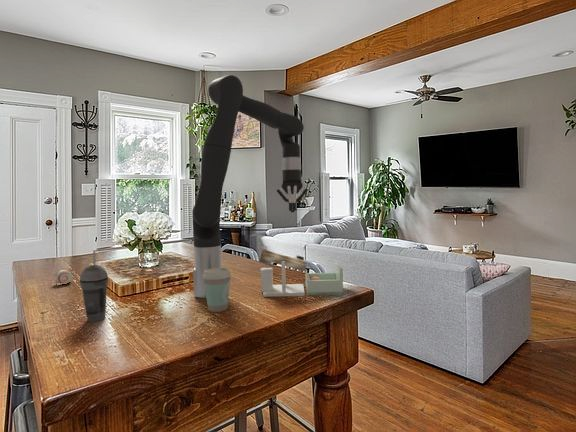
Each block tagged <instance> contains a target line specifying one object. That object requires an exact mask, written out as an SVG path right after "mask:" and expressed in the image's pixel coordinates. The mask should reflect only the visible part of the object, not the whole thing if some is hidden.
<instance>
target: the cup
mask: <svg viewBox="0 0 576 432" xmlns="http://www.w3.org/2000/svg"><path fill="white" fill-rule="evenodd" d="M334 271H335V272H310V273H309V272H306V273H305V289H306V295H307V296H309V297H310V296H343V295H344V274H343V273H344V272H343V271H344V269H343V267H342V266H341V264H340V262H338V261H335V262H334ZM313 277H319V278H320V280H311V278H313Z"/></svg>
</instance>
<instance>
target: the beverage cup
mask: <svg viewBox="0 0 576 432" xmlns="http://www.w3.org/2000/svg"><path fill="white" fill-rule="evenodd" d="M92 255H93V265H91V264H90V265H88V266H86V267H85V268H84V269H83V270H82V271H81V274H80V278H79V283H80V288H81V289H82V296H83V302H84V310H85V315H86V318H87V322H90V323H91V322H92V323H95V322H100V321H104V320H105V319H106V314H107V290H108V289H107V288H108V287H107V286H108V281H109V280H108V279H109V276H108V272H107V270H106V269H105V268H104V267H103V266H101V265H99V264H96V249H94V250H93V254H92Z"/></svg>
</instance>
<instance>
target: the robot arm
mask: <svg viewBox="0 0 576 432" xmlns="http://www.w3.org/2000/svg"><path fill="white" fill-rule="evenodd" d="M207 90H208V96H209V98H210V100H211V101H212V102H213V103H214V104H216V105H217V112H216V115H215V117H214V120H213V122H212V124H211V126H210V128H209V130H208V132H207V134H206V136H205V139H204V142H203V148H202V155H201V162H200V163H201V165H200V185H199V189H198V194H197V198H196V202H195V204H194V205H193V208H192V234H193V237H192V239H193V253H194V254H193V257H194V268H193V270H192V271H193V272H192V273H193V275H192V278H193V296H194V298H200V299H207V298H206V292H205V285H204V278H202V277H203V274H204V270H206V269H210V268H223V260H222V237H221V225H220V223H221V222H220V218H221V213H222V211H221V210H222V209H221V208H222V197H223V196H222V195H223V187H224V183H225V179H226V175H227V172H228V168H229V163H230V158H231V153H232V145H233V139H234V136H235V135H234V134H235V128H236V122H237V117H238V114H239V113H240V114H243V115H244V116H245V115H246V116H248V117H250V118H252V119H255V120H256V121H258V122H260V123H262V124H264V125H265V126H268V127H270V128H271V129H277V133H278V137H279V140H280V141H279V142H280V144H281V147H282V162H281V163H282V164H281V169H282V172H281V173H282V182H281V187H279V188H278V189H277V190H276V192H277V193H278V195H280V197H281V199H282V200H283V201H284V202H285V203H288V211H289V212H290V213H295V212H296V211H297V203H298V202H301V201H302V199H303V197H305V195H306V194H307V193H308V189H307V188H306V187H304V185H303V182H302V163H301V146H300V144H299V143H298V142H294V138H293V137H298V136H300V135H301V134H302V133H303V132H304V123H303V121H302V120H301V119H300V118H299V117H298V116H295V115H293V114H290V113H287V112H283V111H280V110H279V109H277V108H275V107H273V106H271V104H269V103H268V104H267V103H265V102H263V101H260V100H257V99H253V98H250V97H248V96H245V95H244V88H243V83H242V81H241V80H240V78H238V76H236V75H233V74H230V75H229V74H227V75H224V76H221V77H218V78H216V79H214V80H212V81H211V82H210V83H209V85H208V89H207ZM300 191H301V193H300ZM284 192H285V194H287V197H288V198H287V197H286V196H285V195H284ZM299 193H300V195H299V196H298V198H297V194H299ZM292 195H293V196H292Z"/></svg>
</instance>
